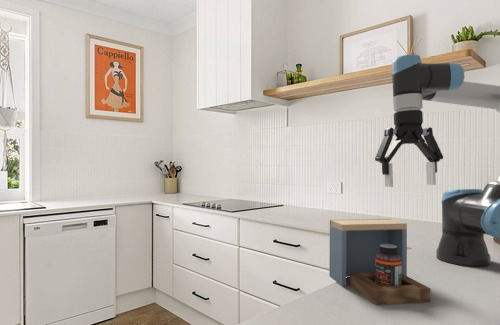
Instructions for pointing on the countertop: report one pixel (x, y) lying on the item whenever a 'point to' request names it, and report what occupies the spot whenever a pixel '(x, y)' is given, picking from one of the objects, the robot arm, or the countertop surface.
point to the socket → (389, 290)
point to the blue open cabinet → (363, 245)
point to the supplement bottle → (388, 266)
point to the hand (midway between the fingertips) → (410, 185)
